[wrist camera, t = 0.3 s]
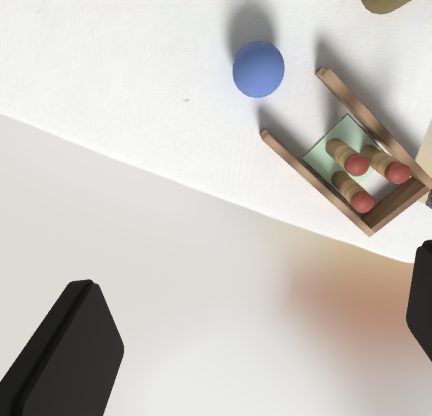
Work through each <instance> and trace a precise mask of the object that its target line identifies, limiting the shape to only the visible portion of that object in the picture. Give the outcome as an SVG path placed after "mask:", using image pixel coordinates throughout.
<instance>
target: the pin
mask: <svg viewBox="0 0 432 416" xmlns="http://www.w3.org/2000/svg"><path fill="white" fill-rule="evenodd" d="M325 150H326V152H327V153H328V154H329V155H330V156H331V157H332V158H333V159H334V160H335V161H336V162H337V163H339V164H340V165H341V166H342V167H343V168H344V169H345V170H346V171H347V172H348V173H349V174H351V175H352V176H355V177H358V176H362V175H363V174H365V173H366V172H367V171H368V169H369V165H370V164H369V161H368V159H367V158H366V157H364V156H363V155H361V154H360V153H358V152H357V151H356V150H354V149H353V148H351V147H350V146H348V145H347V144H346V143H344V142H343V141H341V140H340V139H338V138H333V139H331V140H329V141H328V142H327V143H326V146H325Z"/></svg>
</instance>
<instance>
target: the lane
mask: <svg viewBox="0 0 432 416" xmlns="http://www.w3.org/2000/svg"><path fill="white" fill-rule="evenodd" d="M315 75H316V76H317V77H318V78H319V79H320V80H321V81H322V82H323V83H324V84H325V85H326V86H327V87H328V88H329V89H330V90H331V92H332V93H333V94H334V95H335V96H336V97H337V98H338V99H339V100H340V101H341V102H342V103H343V104H344V105H345V106H346V107H347V109H348V110H349V111H350V112H351V113H352V114H353V115H354V116H355V117H356V118H357V119H358V120H359V121H360V122H361V123H362V124H363V125H364V127H365V128H366V129H367V130H368V131H369V132H370V133H371V134H372V135H373V136H374V137H375V138H376V139H377V140H378V141H379V142H380V144H381V145H382V146H383V147H384V148H385V149H386V150H387V151H388V152H389V153H390V154H391V155H392V156H393V157H394V158H395V159H397V160H399V161H401V162H402V163H404V164H406V165H407V166H409V167H410V169H411V176H412V177H411V178H409V179H408V180H407V181H406V182H404V183H403V184H402V185H401V186H400V187H398V188H397V189H396V190H395V191H393V192H392V193H391V194H390V195H388V196H387V197H386V198H385V199H384V200H382V201H381V202H380V203H379V204H377V205H376V206H375V207H374V208H372V209H371V210H370V211H369V212H367V213H366V214H365V215H364V216H363V217H360V216H359V215H358V214H357V213H356V212H354V211H353V210H352V209H351V208H350V207H349V206H348V205H347V204H346V203H345V202H344V201H343V200H341V199H340V198H339V197H338V196H337V195H336V194H335V193H334V192H333V191H332V190H331V189H330V188H328V187H327V186H326V185H325V184H324V183H323V182H322V181H321V180H320V179H319V178H318V177H317V176H316V175H314V174H313V173H312V172H311V171H310V170H309V169H308V168H307V167H306V166H305V165H304V164H303V163H301V162H300V161H299V160H298V159H297V158H296V157H295V156H294V155H293V154H292V153H291V152H290V151H288V150H287V149H286V148H285V147H284V146H283V145H282V144H281V143H280V142H279V141H278V140H277V139H275V138H274V137H273V136H272V135H271V134H270V133H269V132H268V131H267V130H266V129H264V130H263V131H262V132H261V133H260V136H261V138H262V140H263V141H264V142H265V143H266V144H267V145H268V146H269V147H270V148H272V149H273V150H274V151H275V152H276V153H277V154H278V155H279V156H280V157H282V158H283V159H284V160H285V161H286V162H287V163H288V164H289V165H290V166H291V167H293V168H294V169H295V170H296V171H297V172H298V173H299V174H300V175H301V176H302V177H304V178H305V179H306V180H307V181H308V182H309V183H310V184H311V185H312V186H313V187H315V188H316V189H317V190H318V191H319V192H320V193H321V194H322V195H323V196H325V197H326V198H327V199H328V200H329V201H330V202H331V203H332V204H333V205H334V206H336V207H337V208H338V209H339V210H340V211H341V212H342V213H343V214H344V215H345V216H347V217H348V218H349V219H350V220H351V221H352V222H353V223H354V224H355V225H356V226H358V227H359V228H360V229H361V230H362V231H363V232H364V233H365V234H366V235H368V236H369V237H371V236H372V235H373V234H374V233H376V232H377V231H378V230H380V229H381V228H382V227H383V226H385V225H386V224H387V223H389V222H390V221H391V220H392V219H394V218H395V217H396V216H398V215H399V214H400V213H402V212H403V211H404V210H405V209H407V208H408V207H409V206H411V205H412V204H413V203H414V202H416V201H417V200H418V199H420V198H421V197H422V196H423V195H425V194H426V193H427V192H429V191H430V190H431V189H432V179H431V178H430V177H429V176H428V175H427V174H426V173H425V171H423V169H422V168H421V167H420V166H419V165H418V164H417V163H416V162H415V161H414V159H413V158H412V157H411V156H410V155H409V154H408V153H407V152H406V151H405V150H404V149H403V147H402V146H401V145H400V144H399V143H398V142H397V141H396V140H395V139H394V138H393V137H392V135H391V134H390V133H389V132H388V131H387V130H386V129H385V128H384V127H383V126H382V125H381V123H380V122H379V121H378V120H377V119H376V118H375V117H374V116H373V115H372V114H371V113H370V111H369V110H368V109H367V108H366V107H365V106H364V105H363V104H362V103H361V102H360V101H359V99H358V98H357V97H356V96H355V95H354V94H353V93H352V92H351V91H350V90H349V89H348V87H347V86H346V85H345V84H344V83H343V82H342V81H341V80H340V79H339V78H338V77H337V75H336V74H335V73H334V72H333V71H332V70H331V69H330V68H323V67H321V68H320V69H319V70H318V71H317V72H316V73H315Z"/></svg>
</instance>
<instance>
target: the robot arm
mask: <svg viewBox="0 0 432 416" xmlns="http://www.w3.org/2000/svg"><path fill="white" fill-rule="evenodd" d="M406 321H407V325H408V327H409V329H410V331H411V332H412V334H413V335H414V337H415V338H416V339H417V341H418V343H419V344H420V345H421V347H422V348H423V350H424V351H425V353H426V354H427V356H428V357H429V358H430V360H431V361H432V240H427V241H424V243H423V244H422V246H420V247H418V248H417V251H416V256H415V263H414V270H413V276H412V282H411V289H410V296H409V302H408V308H407V314H406ZM123 354H124V345H123V342H122V339H121V337H120V334H119V332H118V330H117V327H116V325H115V322H114V320H113V318H112V315H111V313H110V311H109V308H108V306H107V303H106V301H105V298H104V296H103V294H102V291H101V289H100V287H99V285H98V284H94V282H93V281H92V280H89V279H88V280H80V281H72V282H70V283H69V284H68V285H67V287H66V288H65V289H64V291H63V292H62V294H61V295H60V297H59V298H58V300H57V301H56V302H55V304H54V305H53V307H52V308H51V310H50V311H49V312H48V314H47V315H46V317H45V318H44V320H43V321H42V323H41V324H40V325H39V327H38V328H37V330H36V331H35V333H34V334H33V336H32V337H31V339H30V340H29V341H28V343H27V344H26V346H25V347H24V349H23V350H22V351H21V353H20V354H19V356H18V357H17V359H16V360H15V362H14V363H13V364H12V366H11V367H10V369H9V370H8V372H7V373H6V375H5V376H4V377H3V379H2V380H1V382H0V416H103V414H104V411H105V408H106V405H107V402H108V399H109V396H110V393H111V391H112V388H113V385H114V382H115V379H116V376H117V373H118V370H119V367H120V364H121V361H122V358H123Z"/></svg>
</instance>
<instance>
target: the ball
mask: <svg viewBox="0 0 432 416" xmlns="http://www.w3.org/2000/svg"><path fill="white" fill-rule="evenodd" d="M283 75H284V61H283V57H282V55H281V53H280V52H279V51H278V49H277V48H276V47H275V46H273V45H271V44H269V43H266V42H253V43H250V44H248V45H247V46H245V47H244V48H243V49H242V50H241V51H240V52H239V53H238V55H237V56H236V58H235V61H234V64H233V78H234V81H235V84H236V86H237V87H238V89H239V90H240V91H241V92H242V93H244V94H245V95H247V96H249V97H254V98H261V97H265V96H267V95H269V94H271V93H272V92H274V91H275V90H276V89H277V88H278V86H279V85H280V83H281V81H282V79H283Z"/></svg>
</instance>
